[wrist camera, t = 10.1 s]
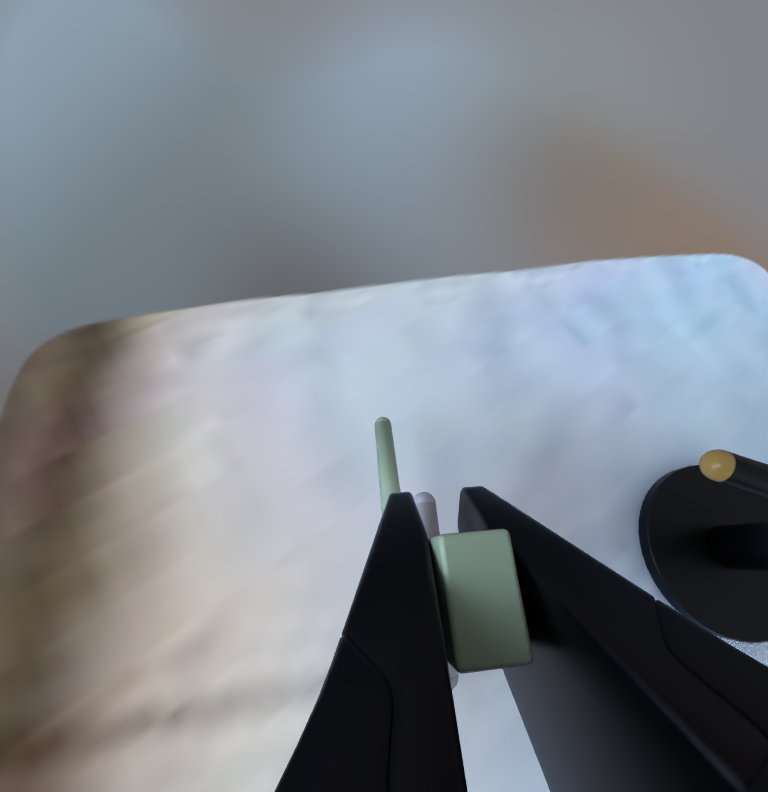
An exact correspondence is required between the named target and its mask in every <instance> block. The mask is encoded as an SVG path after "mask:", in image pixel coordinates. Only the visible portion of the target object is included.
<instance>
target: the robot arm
mask: <svg viewBox="0 0 768 792" xmlns="http://www.w3.org/2000/svg"><path fill="white" fill-rule="evenodd" d="M496 529H505V530H507V531H508V532H509V534H510V539H511V544H512V549H513V555H514V560H515V565H516V570H517V575H518V581H519V586H520V591H521V596H522V601H523V607H524V612H525V617H526V622H527V627H528V633H529V638H530V643H531V648H532V653H533V663H531V664H529V665H525V666H517V667H509V668H502V669H503V671H504V674H505V676H506V679H507V681H508V684H509V687H510V689H511V692H512V694H513V697H514V699H515V702H516V705H517V707H518V710H519V712H520V715H521V717H522V720H523V722H524V725H525V728H526V730H527V733H528V735H529V738H530V740H531V743H532V746H533V748H534V751H535V753H536V756H537V758H538V761H539V764H540V766H541V769H542V771H543V774H544V776H545V779H546V781H547V784H548V787H549V789H550V792H768V667H767V666H765V665H764V664H762V663H760V662H758V661H757V660H755V659H753V658H752V657H750V656H748V655H747V654H745V653H743V652H741V651H740V650H738V649H736V648H735V647H733V646H731V645H729V644H728V643H726V642H725V641H723V640H721V639H720V638H718V637H717V636H715V635H713V634H712V633H710V632H709V631H707V630H705V629H704V628H702V627H701V626H699V625H697V624H696V623H694V622H693V621H691V620H689V619H688V618H686V617H685V616H683V615H681V614H680V613H678V612H677V611H675V610H674V609H672V608H671V607H669V606H667V605H666V604H664V603H663V602H661V601H659V600H657V601H655V599H654V597H653V596H652V595H650V594H649V593H647V592H646V591H644V590H642V589H641V588H639V587H638V586H636V585H635V584H633V583H632V582H630V581H629V580H627V579H625V578H624V577H622V576H621V575H619V574H618V573H616V572H615V571H613V570H611V569H610V568H608V567H607V566H605V565H604V564H602V563H601V562H599V561H598V560H596V559H594V558H593V557H591V556H590V555H588V554H587V553H585V552H584V551H582V550H581V549H579V548H577V547H576V546H574V545H573V544H571V543H570V542H568V541H567V540H565V539H564V538H562V537H560V536H559V535H557V534H556V533H554V532H553V531H551V530H550V529H548V528H546V527H545V526H543V525H542V524H540V523H539V522H537V521H536V520H534V519H533V518H531V517H529V516H528V515H526V514H525V513H523V512H522V511H520V510H519V509H517V508H516V507H514V506H512V505H511V504H509V503H508V502H506V501H505V500H503V499H502V498H500V497H499V496H497V495H495V494H494V493H492V492H491V491H489V490H488V489H486V488H484V487H482V486H476V487H465V488H463V489H462V490H461V493H460V501H459V513H458V530H459V533H463V532H474V531H485V530H496ZM275 792H467V785H466V779H465V772H464V766H463V759H462V753H461V746H460V740H459V734H458V727H457V721H456V714H455V708H454V701H453V695H452V688H451V682H450V675H449V669H448V663H447V656H446V650H445V643H444V637H443V630H442V624H441V617H440V611H439V605H438V598H437V592H436V585H435V579H434V572H433V566H432V559H431V553H430V546H429V540H428V536H427V532H426V529H425V526H424V524H423V521H422V519H421V516H420V514H419V511H418V509H417V506H416V504H415V501H414V499H413V496H412V494H411V493H409V492H400V493H391V494H390V495H389V497H388V500H387V503H386V506H385V509H384V512H383V515H382V518H381V521H380V524H379V527H378V530H377V532H376V535H375V538H374V541H373V544H372V547H371V550H370V553H369V556H368V559H367V562H366V565H365V568H364V571H363V573H362V576H361V579H360V582H359V585H358V588H357V591H356V594H355V597H354V600H353V603H352V606H351V609H350V612H349V615H348V617H347V620H346V623H345V626H344V629H343V632H342V637H341V638H340V640H339V643H338V646H337V649H336V652H335V655H334V657H333V660H332V663H331V666H330V668H329V671H328V674H327V676H326V679H325V681H324V684H323V687H322V689H321V692H320V695H319V697H318V700H317V702H316V704H315V706H314V709H313V711H312V713H311V715H310V718H309V720H308V722H307V724H306V726H305V729H304V731H303V733H302V735H301V738H300V740H299V742H298V744H297V746H296V748H295V750H294V753H293V755H292V757H291V759H290V761H289V763H288V765H287V767H286V769H285V771H284V773H283V775H282V777H281V779H280V781H279V784H278V786H277V788H276V790H275Z"/></svg>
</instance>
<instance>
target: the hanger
mask: <svg viewBox="0 0 768 792" xmlns="http://www.w3.org/2000/svg"><path fill="white" fill-rule="evenodd" d="M375 436H376V448H377V460H378V472H379V484H380V496H381V508H382V515H383V512H384V509H385V506H386V503H387V500H388V497H389V495H390V494H391V493H400V486H399V478H398V471H397V464H396V457H395V450H394V442H393V435H392V428H391V422H390V420H389V419H387V418H386V417H380V418H378V419H377V420H376V422H375ZM413 499H414V501H415V504H416V506H417V509H418V511H419V514H420V516H421V519H422V521H423V524H424V526H425V529H426V532H427V536H428V540H429V546H430V553H431V559H432V566H433V572H434V579H435V585H436V592H437V598H438V605H439V611H440V617H441V624H442V630H443V637H444V643H445V650H446V656H447V663H448V669H449V675H450V682H451V688H452V689H453V688H454V687H455V686H456V684H457V682H458V672H459V673H470V672H478V671H486V670H493V669H501V668H509V667H517V666H525V665H529V664H531V663H533V653H532V648H531V643H530V638H529V633H528V627H527V622H526V617H525V612H524V607H523V601H522V596H521V591H520V586H519V581H518V575H517V570H516V565H515V560H514V555H513V549H512V544H511V539H510V534H509V532H508V531H507V530H505V529H496V530H485V531H474V532H463V533H452V534H442V535H440V532H439V525H438V517H437V510H436V502H435V499H434V497H433V496H432V495H431V494H429V493H427V492H421V493H419V494H417V495H416V496H415V497H414V498H413Z"/></svg>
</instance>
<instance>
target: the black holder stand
mask: <svg viewBox="0 0 768 792" xmlns="http://www.w3.org/2000/svg"><path fill="white" fill-rule="evenodd" d="M639 538H640V545H641V549H642V554H643V557H644V560H645V563H646V566H647V568H648V570H649V572H650V574H651V576H652V578H653V580H654V582H655V583H656V585H657V587H658V588H659V590H660V591H661V592H662V594H663V595H664V596H665V598H666V599H667V600H668V601H669V602H670V603H671V605H672V606H673V607H674V608H675V609H676V610H677V611H678V612H680V613H681V614H682V615H683V616H685V617H686V618H688V619H689V620H691V621H693V622H694V623H696V624H697V625H699V626H701V627H702V628H704V629H705V630H707V631H709V632H710V633H712V634H714V635H716V636H719V637H723V638H726V639H730V640H735V641H740V642H747V643H762V642H767V641H768V465H767V464H764V463H761V462H758V461H755V460H752V459H749V458H746V457H743V456H740V455H737V454H734V453H731V452H728V451H725V450H711V451H708V452H706V453H705V454H704V455H703V456H702V457H701V458H700V461H699V465H696V466H689V467H685V468H681V469H678V470H675V471H672V472H670V473H668V474H666V475H664V476H663V477H661V478H660V479H659V480H658V481H657V482H656V483H655V484H654V485H653V486H652V487H651V488H650V490H649V491H648V493H647V495H646V497H645V499H644V501H643V504H642V507H641V510H640V517H639Z"/></svg>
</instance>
